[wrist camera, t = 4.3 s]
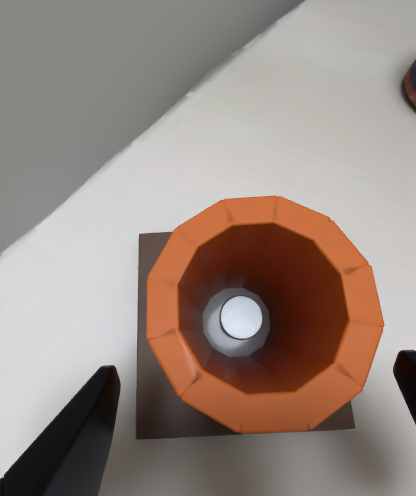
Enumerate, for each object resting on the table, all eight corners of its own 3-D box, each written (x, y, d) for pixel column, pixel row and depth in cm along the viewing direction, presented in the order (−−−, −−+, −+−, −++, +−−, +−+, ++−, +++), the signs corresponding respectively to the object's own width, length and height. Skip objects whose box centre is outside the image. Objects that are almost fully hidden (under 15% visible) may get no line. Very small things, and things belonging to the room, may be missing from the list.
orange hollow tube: (288, 368, 17) (408, 427, 6) (191, 373, 17) (144, 440, 6) (277, 272, 18) (355, 189, 8) (188, 278, 18) (146, 202, 8)
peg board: (348, 423, 17) (407, 465, 11) (140, 433, 17) (104, 479, 12) (315, 227, 20) (349, 189, 15) (142, 238, 20) (115, 204, 15)
